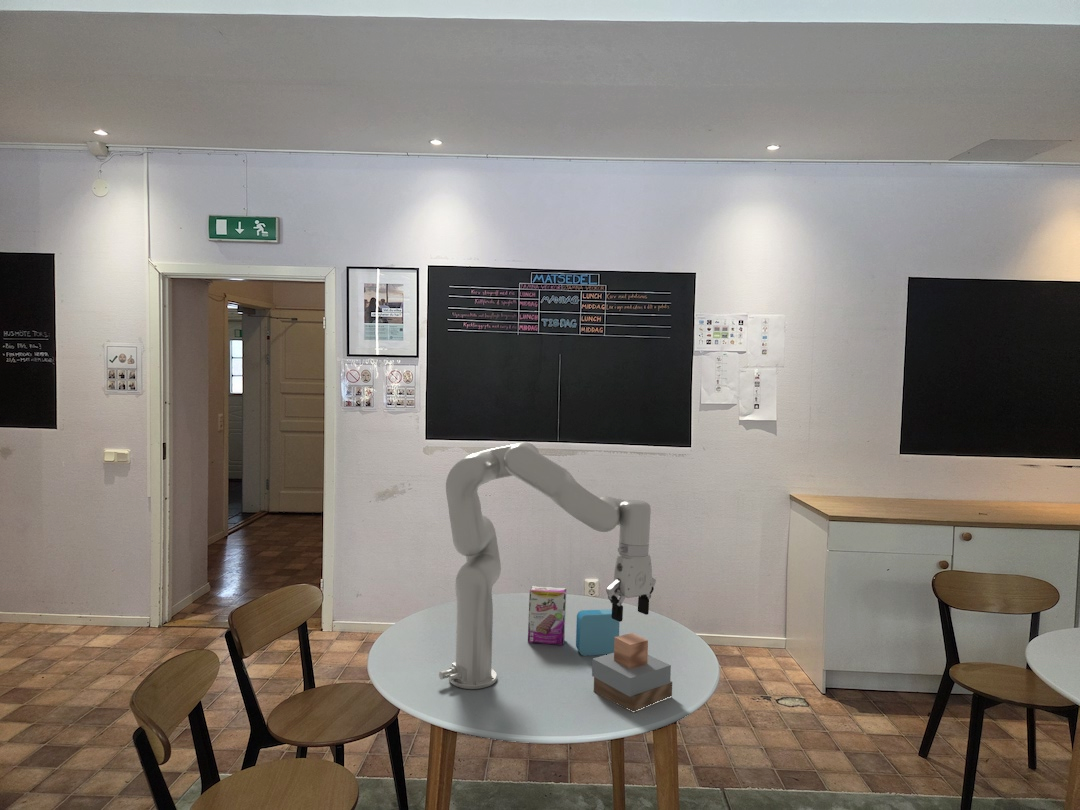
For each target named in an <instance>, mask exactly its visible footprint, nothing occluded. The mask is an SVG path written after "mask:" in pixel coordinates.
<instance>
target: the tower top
mask: <svg viewBox="0 0 1080 810" xmlns="http://www.w3.org/2000/svg"><path fill="white" fill-rule="evenodd" d="M591 662H592V663H591V666H592V667H591V676H592V677H593V678H594V677H595V678H597V679H598V680H600V681H602V682H604V683H606V684H608V685H609V686H611V687H613V688H615V689H617V690H618V691H620V692H622V693H624V694H626V695H628V696H629V697H631V696H634V695H637V694H640V693H643V692H645V691H648V690H651V689H654V688H657V687H660V686H663V685H666V684H669V683H670V681H671V675H672V674H671V672H672V671H671V669H672V667H671V666H672V665H671V664H669V663H667V662H665V661H663V660H661V659H658V658H657V657H653V656H651V655H649V654H648V663H647V664H645V665H642V666H638V667H635V668H631V669H629V668H627V667H625V666H623V665H621V664H619V663H618V662H616V661H614V653H610V654H607V655H599V656H598V657H594V658H592V661H591Z"/></svg>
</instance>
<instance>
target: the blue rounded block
mask: <svg viewBox="0 0 1080 810" xmlns="http://www.w3.org/2000/svg"><path fill="white" fill-rule="evenodd" d="M620 623H621V622H619V621H617V620H614V619H612V608H611V609H610V608H609V609H605V608H604V609H588V610H587V609H586V610H585V609H582V610H580V611H578V612H577V614H576V629H575V630H576V631H575V632H576V633H575V634H576V636H575V647H576V649H577V651H578V652H579V654H580V655H581V656H584V657H585V656H587V655H589V656H603V655H606V654H610V653H614V637H618V636H620ZM587 657H588V656H587Z"/></svg>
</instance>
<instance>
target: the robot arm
mask: <svg viewBox="0 0 1080 810" xmlns="http://www.w3.org/2000/svg"><path fill="white" fill-rule="evenodd" d="M509 477H515V478H516V479H518V480H520V481H521V482H523V483H524V484H526V485H528V486H530V487H531V488H533V489H534V490H536V491H538V492H539V493H541V494H543V495H544V496H546V497H547V498H549V499H550V500H551V501H552V502H553V503H554V504H556V505H557V506H558V507H560V508H561V509H562V510H563V511H565V512H566V513H567V514H569V515H570V516H571V517H574V518H575V519H576V520H578V521H579V522H581V523H583V525H586V526H588V528H591V529H592V530H595V531H596V532H600V533H608V532H611V531H612V530H614V529H615V528H616V526H619V534H618V535H619V539H618V548H617V552H618V554H617V557H616V561H615V566H614V567H615V568H614V571H613V572H614V573H613V574H614V575H613V582H612V583H611V584H610V585H609V586H608V587H607V588H605V591H606V593H607V598H608V600H609V603H611V609H612V619H614V620H617V621H619V622H620V623H621V622H623V619H624V617H623V615H624V606H623V605H622V604H623V602H624V600H625V599H626V598H627V599H632V598H636V597H638V599H637V612H638V613H640V614H643V615H649V610H650V599H651V597H652V593H653V592H654V587H655V585H656V583H657V580H656V578H654V577H653V569H652V559H651V555H650V554H649V552H650V551H649V548H650V530H651V513H652V512H651V511H652V509H651V505H650V504H649V502H647V501H644V500H636V499H629V500H625V499H621V498H620V499H619V498H615V497H611V496H602V497H598V496H597V495H595V494H593V493H592V492H590V491H589V490H587V489H586V488H585V487H583V486H582V485H581V484H579V483H578V481H577V480H576V479H575V478H574V476H573V475H572V473H571V472H569V471H568V470H567V469H566V468H564V467H562V466H561V465H559V464H557V463H556V462H555V461H553V460H551V459H549V458H548V457H546V456H544V455H543V454H542V453H540V451H539V449H538V448H537V446H536V445H534V444H533V443H530V442H527V441H524V442H523V441H522V442H518V443H513V444H510V445H505V446H500V447H495V448H489V449H485V450H481V451H478V452H473V453H471V454H468V455H466V456H464V457H463V458H461V459H460V460H458V461H457V462H456V463H455V464H454V465H453V466H452V468H451V469H450V471H449V472H448V474H447V477H446V481H445V493H446V500H447V507H448V514H449V516H448V517H449V522H450V528H451V535H452V543H453V546H454V548H455V550H456V552H457V553H459V554H460V555H461V556H464V557H465V559H466V562H465V563H464V564H463V565H462V566H461V567H460V568H459V570H458V572H457V574H456V576H455V582H454V583H455V584H454V585H455V587H454V589H455V598H456V599H455V600H456V631H455V633H456V634H455V635H456V637H455V662H452V663H451V666H450V667H449V669H445V670H441V671H439V673H438V677H439V679H440V680H445V679H449V682H450V683H451V684H452V685H453V686H455V687H457V688H461V689H466V690H479V689H480V690H481V689H485V688H488V687H490V686H493V685H494V684H495V683H496V682H497V680H498V673H497V672H496V671H495V670H494V669H493V668H492V663H493V662H492V659H493V627H494V626H493V624H494V622H493V621H494V620H493V619H494V610H493V609H494V608H493V606H494V605H493V604H494V603H493V593H492V592H493V587H494V585H495V584H496V583H497V582H498V580H499V578H500V576H501V572H502V567H501V564H502V563H501V558H500V550H499V543H498V539H497V532H496V528H495V526H494V524H493V522H492V520H491V519H490V518H489V517H487V516H486V515H483V513H482V512H483V511H482V507H481V501H480V497H479V494H478V493H479V492H478V489H479V487H480V486H482V485H485V484H486V483H489V482H491V481H494V480H498V479H503V478H509ZM618 597H619V598H618Z"/></svg>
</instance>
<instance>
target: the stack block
mask: <svg viewBox="0 0 1080 810" xmlns="http://www.w3.org/2000/svg"><path fill="white" fill-rule="evenodd" d="M648 655H649V640H648V639H646V638H644V637H642V636H640V635H638V634H635V633H633V632H630V633H627V634H622V635H619V636H618V637H614V661H616V662H618V663H619V664H621V665H623V666H625V667H627V668H629V669H631V668H635V667H638V666H642V665H645V664H647V663H648Z"/></svg>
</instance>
